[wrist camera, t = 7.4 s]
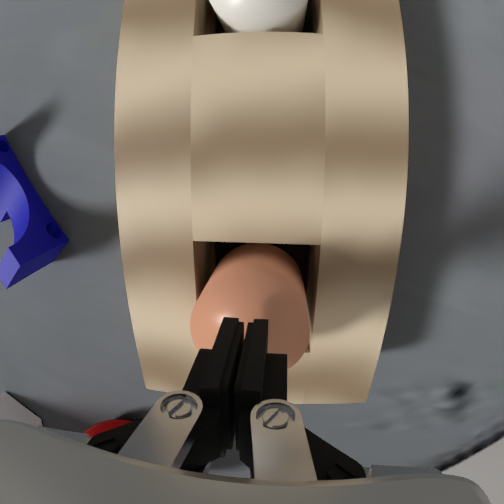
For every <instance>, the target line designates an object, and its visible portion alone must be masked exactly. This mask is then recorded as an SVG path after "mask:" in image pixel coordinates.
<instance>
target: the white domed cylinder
mask: <svg viewBox="0 0 504 504" xmlns="http://www.w3.org/2000/svg"><path fill="white" fill-rule="evenodd" d="M209 1H210V3H211V5H212V7H213V9H214V11H215V13H216V15H217V17H218V19H219V21H220V23H221V25H222V26H223V28H224V30H225V32H226V33H237V32H301V33H302V30H303V27H304V22H305V16H306V10H307V4H308V0H209Z"/></svg>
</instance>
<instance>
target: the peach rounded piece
mask: <svg viewBox="0 0 504 504" xmlns="http://www.w3.org/2000/svg"><path fill="white" fill-rule="evenodd" d="M224 317H233V318H239V322H244V339H245V334H246V330H247V325H248V322H253V321H254V319H269V324H268V350H267V353H276V354H287V370H288V369H290V368H291V367H292V366H293V365H295V364H296V363H297V362H298V361H299V360H300V358H301V357H302V356H303V354H304V352H305V350H306V349H307V346H308V343H309V339H310V323H309V316H308V309H307V302H306V295H305V288H304V282H303V276H302V273H301V270H300V268H299V266H298V265H297V263H296V262H295V260H294V259H293V258H292V257H291V256H290V255H289V254H288V253H286V252H285V251H284V250H282V249H280V248H278V247H276V246H273V245H270V244H266V243H249V244H244V245H241V246H238V247H236V248H234V249H232V250H231V251H229V252H228V253H227V254H226V255H225V256H224V257H223V258H222V259H221V260H220V262H219V263H218V265H217V267H216V268H215V270H214V272H213V274H212V275H211V277H210V279H209V281H208V282H207V284H206V286H205V288H204V289H203V291H202V293H201V295H200V297H199V298H198V300H197V302H196V304H195V306H194V308H193V310H192V314H191V318H190V332H191V337H192V340H193V342H194V344H195V347H196V348H197V350H198V351H199V350H200V349H201V348H203V349H212V348H213V345H214V342H215V339H216V337H217V334H218V331H219V328H220V326H221V323H222V320H223V318H224Z"/></svg>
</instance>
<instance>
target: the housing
mask: <svg viewBox="0 0 504 504" xmlns="http://www.w3.org/2000/svg"><path fill="white" fill-rule="evenodd" d="M311 11H312V32H313V33H301V32H237V33H221V34H216V13H215V11H214V9H213V7H212V5H211V3H210V1H209V0H125V2H124V8H123V15H122V22H121V30H120V39H119V49H118V60H117V73H116V90H115V124H114V146H115V181H116V199H117V213H118V225H119V235H120V245H121V254H122V262H123V270H124V277H125V284H126V291H127V297H128V303H129V309H130V315H131V320H132V326H133V331H134V336H135V341H136V346H137V351H138V355H139V360H140V364H141V369H142V373H143V377H144V381H145V385H146V389H151V390H157V391H163V392H172V391H179V390H183V387H184V385H185V382H186V380H187V378H188V375H189V373H190V370H191V368H192V366H193V363H194V361H195V358H196V356H197V354H198V350H197V348H196V347H195V344H194V342H193V340H192V337H191V332H190V318H191V314H192V310H193V308H194V306H195V304H196V302H197V300H198V298H199V297H200V295H201V293H202V291H203V289H204V288H205V286H206V284H207V282H208V281H209V279H210V277H211V275H212V274H213V272H214V270H215V268H216V262H215V242H245V243H276V244H304V245H310V251H309V266H308V280H307V293H306V302H307V309H308V316H309V323H310V339H309V343H308V346H307V349H306V350H305V352H304V354H303V356H302V357H301V358H300V360H299V361H298V362H297V363H296V364H295V365H293V366H292V367H291V368H290V369H288V370H287V401H289V402H290V403H292V404H335V403H360V402H366V399H367V396H368V393H369V390H370V386H371V383H372V379H373V376H374V372H375V369H376V365H377V361H378V358H379V354H380V350H381V346H382V342H383V338H384V333H385V329H386V325H387V320H388V315H389V311H390V306H391V301H392V295H393V290H394V284H395V279H396V273H397V267H398V260H399V253H400V246H401V238H402V230H403V221H404V212H405V201H406V188H407V172H408V147H409V103H408V79H407V64H406V52H405V42H404V33H403V25H402V18H401V11H400V5H399V0H311Z"/></svg>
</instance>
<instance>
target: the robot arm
mask: <svg viewBox="0 0 504 504" xmlns="http://www.w3.org/2000/svg"><path fill="white" fill-rule="evenodd" d="M268 324H269V319H254V321H253V322H248V325H247V330H246V334H245V339H244V322H239V318H233V317H224V318H223V320H222V323H221V326H220V328H219V331H218V334H217V337H216V339H215V342H214V345H213V348H212V349H203V348H201V349H200V350H199V351H198V354H197V356H196V358H195V361H194V363H193V366H192V368H191V370H190V373H189V375H188V378H187V380H186V382H185V385H184V387H183V390H179V391H172V392H168V393H166V394H164V395H162V396H161V397H160V398H159V399H158V400H157V401H156V403H155V404H154V405H153V407H152V408H151V409H150V411H149V412H148V414H147V415H146V416H145V417H144V418H141V419H138V420H136V421H133V422H130V423H127V424H124V425H122V426H119V427H116V428H113V429H110V430H107V431H104V432H101V433H99V434H97V435H94V436H93V437H90V436H89V434H86V433H78V432H71V431H65V430H59V429H53V428H47V427H37V426H33V425H30V424H27V423H23V422H18V421H13V420H4V419H0V504H491V503H490V501H489V499H488V497H487V495H486V494H485V493H484V491H483V490H482V489H481V488H480V487H479V485H477V484H476V483H475V482H473V481H471V480H469V479H467V478H463V477H459V476H454V475H445V474H442V473H441V472H440V471H439V470H437V469H435V468H432V467H405V466H384V465H372V466H371V468H369V467H362V465H360V464H359V463H358V462H357V461H355V460H354V459H352V458H350V457H349V456H347V455H346V454H344V453H342V452H341V451H339V450H338V449H336V448H335V447H333V446H332V445H330V444H329V443H327V442H326V441H324V440H322V439H321V438H319V437H318V436H317V435H315V434H314V433H312V432H311V431H309V430H308V429H306V428H305V427H304V424H303V420H302V416H301V413H300V411H299V409H298V408H297V407H296V406H295V405H294V404H292V403H290V402H289V401H287V354H276V353H267V350H268ZM235 435H236V450H239V452H240V460H241V461H242V462H243V463H245V464H246V465H247V466H248V467H249V468H250V479H248V478H237V477H227V476H219V475H212V474H208V472H209V470H210V468H211V461H213V460H215V459H217V458H219V457H225V452H226V449H230V450H231V449H232V446H233V441H234V436H235Z"/></svg>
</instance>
